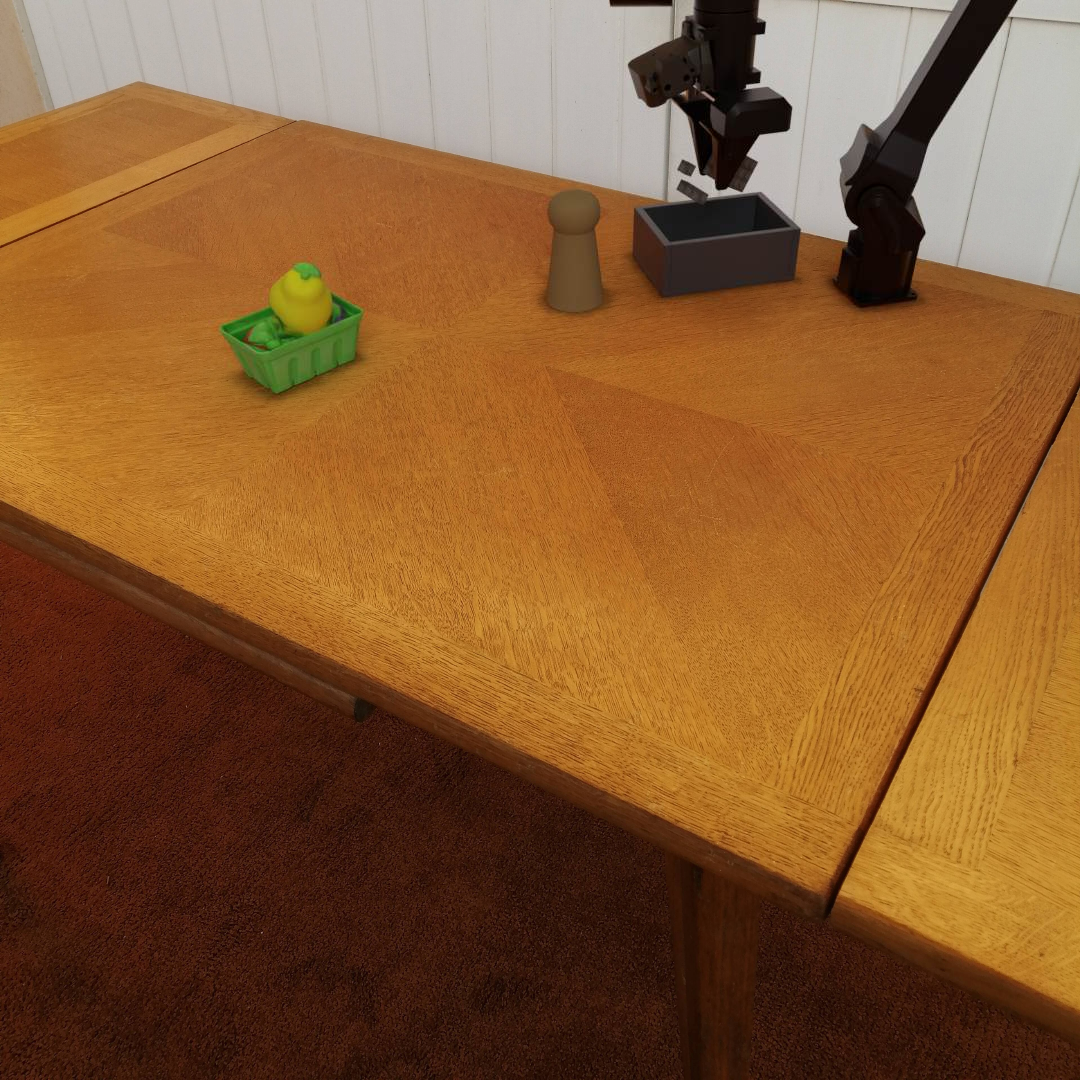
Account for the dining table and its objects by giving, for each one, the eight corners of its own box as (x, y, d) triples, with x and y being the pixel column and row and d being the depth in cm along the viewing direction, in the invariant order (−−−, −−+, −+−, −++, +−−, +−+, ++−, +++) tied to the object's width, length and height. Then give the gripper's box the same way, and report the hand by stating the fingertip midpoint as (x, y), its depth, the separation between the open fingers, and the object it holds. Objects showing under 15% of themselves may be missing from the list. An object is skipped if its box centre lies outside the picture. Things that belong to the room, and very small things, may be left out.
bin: (755, 240, 113) (761, 191, 110) (794, 279, 105) (801, 228, 102) (632, 255, 111) (633, 206, 108) (662, 297, 103) (664, 245, 100)
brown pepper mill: (599, 314, 101) (599, 207, 94) (540, 310, 102) (536, 204, 95) (608, 287, 105) (609, 183, 98) (551, 283, 107) (549, 181, 99)
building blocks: (758, 162, 98) (709, 140, 92) (730, 214, 100) (681, 197, 95) (736, 149, 100) (687, 127, 94) (709, 201, 102) (660, 183, 97)
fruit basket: (327, 332, 100) (307, 222, 92) (382, 363, 95) (365, 249, 88) (228, 376, 94) (197, 262, 87) (280, 411, 89) (253, 293, 82)
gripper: (607, -7, 94) (606, 160, 104) (676, 41, 80) (667, 229, 90) (718, -18, 96) (707, 147, 106) (805, 27, 82) (782, 213, 92)
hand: (712, 182), depth 98 cm, fingers closed on building blocks, 4 cm apart
